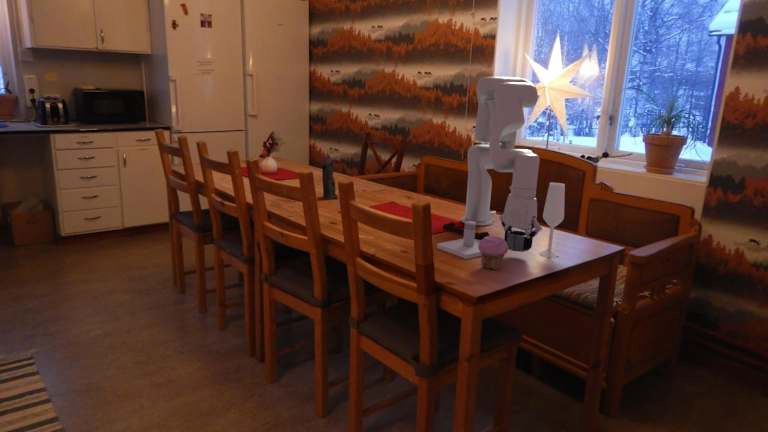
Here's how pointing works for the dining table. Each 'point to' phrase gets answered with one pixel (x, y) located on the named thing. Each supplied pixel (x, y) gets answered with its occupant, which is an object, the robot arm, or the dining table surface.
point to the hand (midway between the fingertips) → (517, 245)
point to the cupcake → (492, 251)
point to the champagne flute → (553, 213)
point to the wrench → (461, 231)
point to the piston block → (463, 243)
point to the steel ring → (516, 240)
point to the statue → (328, 179)
